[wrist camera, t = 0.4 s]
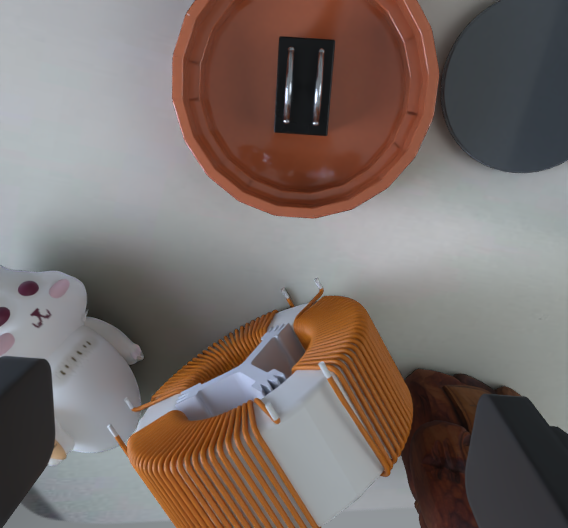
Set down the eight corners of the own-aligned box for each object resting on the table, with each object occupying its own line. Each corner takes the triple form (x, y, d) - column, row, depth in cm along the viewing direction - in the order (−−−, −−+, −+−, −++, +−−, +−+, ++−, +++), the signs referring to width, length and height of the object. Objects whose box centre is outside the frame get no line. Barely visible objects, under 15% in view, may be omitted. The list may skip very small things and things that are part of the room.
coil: (392, 343, 36) (449, 492, 22) (203, 432, 39) (144, 618, 25) (346, 255, 35) (374, 356, 21) (152, 354, 37) (57, 505, 23)
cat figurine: (111, 505, 30) (-123, 316, 25) (52, 509, 35) (-150, 354, 30) (196, 373, 36) (22, 205, 32) (136, 393, 41) (-20, 252, 37)
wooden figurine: (566, 404, 37) (793, 661, 20) (525, 478, 39) (700, 773, 22) (406, 350, 37) (495, 566, 19) (371, 428, 38) (425, 690, 21)
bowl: (187, -51, 30) (172, -71, 27) (440, -36, 30) (457, -55, 27) (184, 199, 34) (171, 208, 31) (408, 214, 34) (419, 226, 31)
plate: (453, -13, 30) (457, -17, 30) (633, -2, 30) (641, -5, 29) (429, 166, 33) (432, 167, 32) (593, 177, 33) (600, 178, 32)
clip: (281, 41, 31) (278, 34, 28) (333, 45, 31) (336, 38, 28) (276, 131, 32) (273, 133, 30) (325, 134, 32) (327, 136, 29)
